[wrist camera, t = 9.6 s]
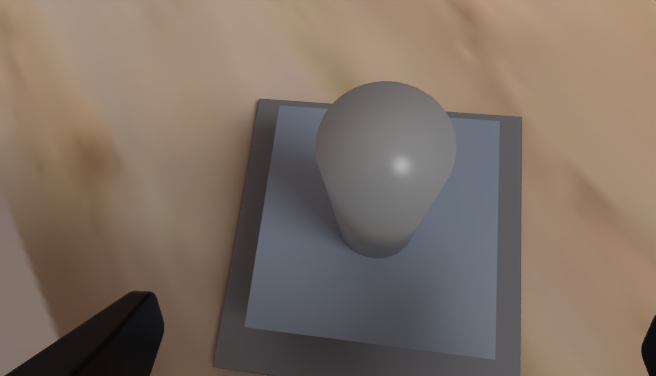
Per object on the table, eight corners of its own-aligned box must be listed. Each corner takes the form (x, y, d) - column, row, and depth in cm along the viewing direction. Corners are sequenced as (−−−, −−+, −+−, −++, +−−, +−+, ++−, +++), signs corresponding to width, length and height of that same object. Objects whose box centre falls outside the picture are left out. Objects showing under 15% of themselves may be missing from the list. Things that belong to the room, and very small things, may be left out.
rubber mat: (515, 408, 17) (520, 411, 17) (217, 365, 18) (213, 367, 18) (518, 121, 20) (521, 116, 20) (261, 103, 21) (259, 98, 21)
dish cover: (468, 349, 17) (626, 410, 7) (269, 323, 18) (133, 342, 8) (474, 156, 19) (604, -28, 9) (295, 142, 20) (216, -41, 10)
